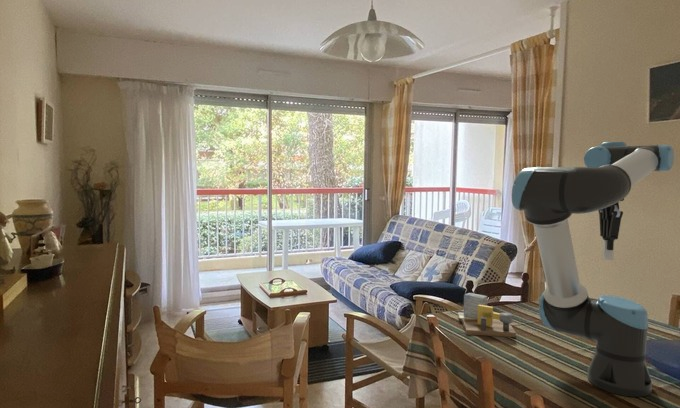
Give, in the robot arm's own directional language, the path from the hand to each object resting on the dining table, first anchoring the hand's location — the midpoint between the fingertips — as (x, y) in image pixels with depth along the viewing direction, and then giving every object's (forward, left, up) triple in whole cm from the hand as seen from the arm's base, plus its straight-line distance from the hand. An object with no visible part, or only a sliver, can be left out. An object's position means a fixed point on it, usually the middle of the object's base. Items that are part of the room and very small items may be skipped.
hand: (607, 259), depth 151 cm
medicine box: (+17, +40, -28) cm, 51 cm away
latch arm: (+6, +35, -27) cm, 44 cm away
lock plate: (+12, +36, -29) cm, 48 cm away
